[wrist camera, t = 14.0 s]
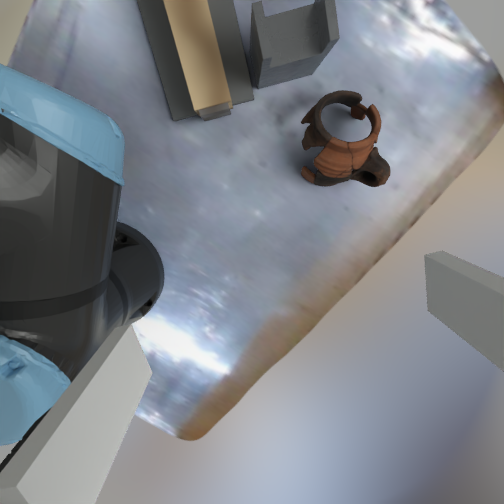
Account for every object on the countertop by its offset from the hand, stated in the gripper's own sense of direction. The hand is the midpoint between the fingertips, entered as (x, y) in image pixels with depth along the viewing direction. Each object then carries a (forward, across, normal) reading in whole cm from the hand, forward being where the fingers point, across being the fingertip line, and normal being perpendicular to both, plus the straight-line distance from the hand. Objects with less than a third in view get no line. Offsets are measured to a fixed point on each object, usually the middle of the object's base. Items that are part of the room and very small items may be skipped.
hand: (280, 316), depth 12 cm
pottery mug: (+27, +12, +5) cm, 30 cm away
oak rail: (+26, -2, +22) cm, 34 cm away
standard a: (+27, +7, +16) cm, 32 cm away
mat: (+27, -2, +22) cm, 34 cm away
